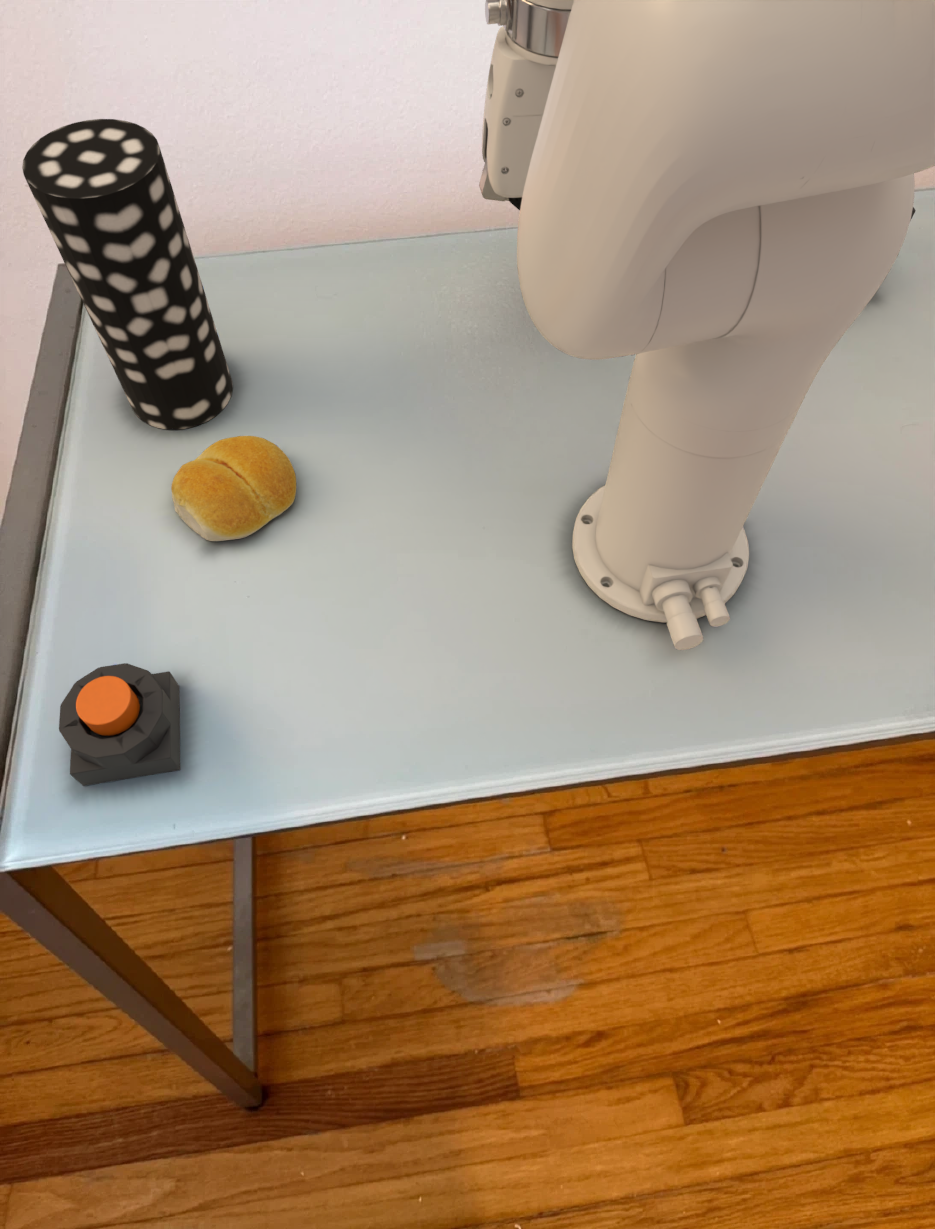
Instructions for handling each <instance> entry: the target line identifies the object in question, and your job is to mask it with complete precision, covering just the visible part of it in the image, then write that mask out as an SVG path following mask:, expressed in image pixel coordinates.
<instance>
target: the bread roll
mask: <svg viewBox="0 0 935 1229" xmlns="http://www.w3.org/2000/svg"><path fill="white" fill-rule="evenodd" d="M170 490H171V498H172V502H173V506H174V511H175V513H176V514H177V515H178V516H179V518H180V519H181V520H182V521H183V522H184V524H186V525H187V526H188V528H189V529H191V530H192V531H194V533H196V534H197V535H199V536H200V537H201V538H203V539H204V540H206V541H210V542H223V541H232V540H238V539H244V538H246V537H249V536H250V535H253V534H254V533H256V532H258V531H259V530H261V528H263V527H264V526H265V525H267V524H268V523H269V522H271V521H272V520H273V519H275V518H278V516H280V515H282V514H283V513H284V512H285V511H286V510H288V509H289V508H290V507H291V506H292V505H293V504H294V502H295V499H296V494H297V475H296V472H295V469H294V465H293V463H292V462H291V460H290V458H289V457H288V455H287V454H286V453H285V451H283V449H281V448H280V447H279V446H278V445H277V444H275V443H274V442H272V441H270V440H268V439H266V438H263V437H260V436H255V435H237V436H231V437H225V438H222V439H219V440H217V441H215V442H214V443H212V444H211V445H209V446H208V447H207V448H206V449H204V451H202V452H201V453H200V454H199V455H198V456H197V457H196V458H195V459H194V460H189V461H188V462H186V463H184V464H182V465H181V466H180V468H179V469H178V471H177V472H176V473H175V475H174V476H173V479H172V482H171V487H170Z"/></svg>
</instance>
